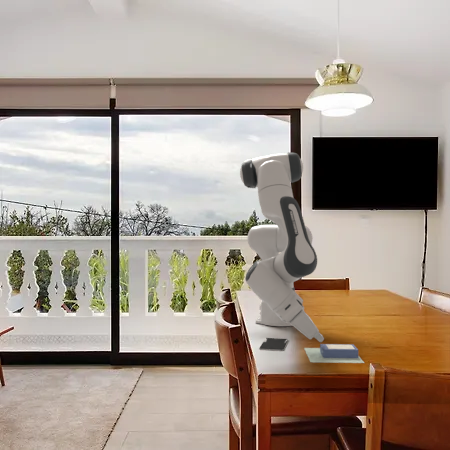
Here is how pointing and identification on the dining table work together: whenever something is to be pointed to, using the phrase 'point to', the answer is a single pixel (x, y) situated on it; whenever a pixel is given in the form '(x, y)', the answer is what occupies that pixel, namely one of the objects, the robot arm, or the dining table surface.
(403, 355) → the dining table surface
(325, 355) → the box
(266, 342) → the smartphone
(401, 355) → the dining table surface
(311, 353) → the mat
